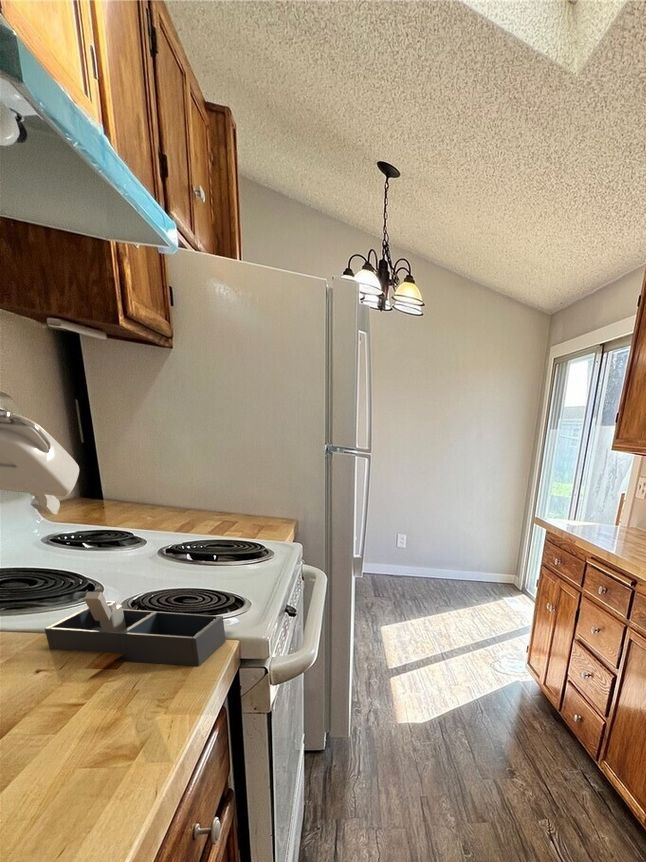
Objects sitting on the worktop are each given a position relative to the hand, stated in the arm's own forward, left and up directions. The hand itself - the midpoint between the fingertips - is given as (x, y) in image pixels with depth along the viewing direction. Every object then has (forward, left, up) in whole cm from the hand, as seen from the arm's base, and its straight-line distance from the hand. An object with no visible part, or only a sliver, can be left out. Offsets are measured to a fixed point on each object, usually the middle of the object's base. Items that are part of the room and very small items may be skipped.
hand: (3, 503), depth 59 cm
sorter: (+5, +12, -21) cm, 25 cm away
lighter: (+1, +12, -21) cm, 24 cm away
